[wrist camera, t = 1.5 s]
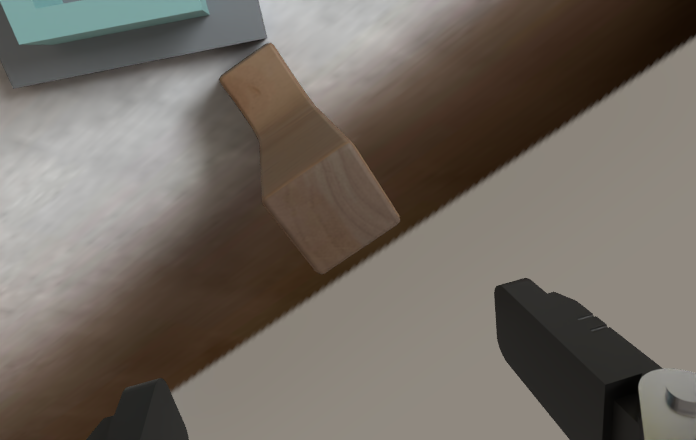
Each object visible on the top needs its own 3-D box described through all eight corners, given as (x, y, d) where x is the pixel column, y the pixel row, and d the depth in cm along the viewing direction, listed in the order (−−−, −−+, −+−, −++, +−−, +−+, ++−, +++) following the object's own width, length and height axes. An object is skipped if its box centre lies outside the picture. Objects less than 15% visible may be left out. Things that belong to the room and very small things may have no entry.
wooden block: (331, 136, 28) (404, 223, 14) (288, 166, 28) (320, 279, 15) (268, 41, 26) (285, 35, 12) (221, 74, 26) (183, 107, 12)
